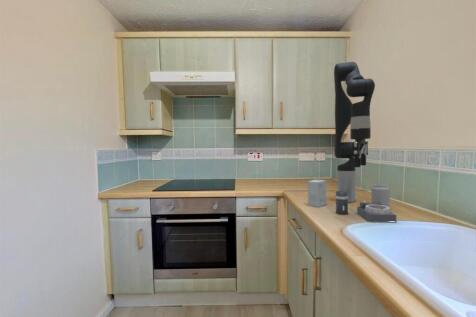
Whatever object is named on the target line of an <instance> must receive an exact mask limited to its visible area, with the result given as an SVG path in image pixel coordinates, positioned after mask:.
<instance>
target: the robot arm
mask: <svg viewBox="0 0 476 317" xmlns="http://www.w3.org/2000/svg"><path fill="white" fill-rule="evenodd" d="M333 78H334V93H335V94H334V95H335V96H334V98H335V99H334V103H335V104H334V126H335V127H334V128H335V129H334V130H335V135H334V156H335V158H336V159H348V160H347V161H346V162H344V163H341V164H339V165H337V168H336V169H337V191H347V192H348V203H355V202H356V197H357V196H356V194H357V192H356V168H361V166H366V165H367V156H368V155H369V142H368V141H366V140H370V139H371V138H372V137H371V132H372V131H371V129H372V128H371V127H372V126H371V123H372V122H371V115H370V114H371V104H372V98H373V95H374V91H375V87H376V84H375V81H374V80H373V78H365V77H364V76H362V74H361V72H360V69H359V66H358V64H357V62H355V61H348V62H339V63H336V64H335V65H334V69H333ZM342 82H344V83H345V85H346V88H345V91H346V92H345V91H344V88H343V86H342ZM359 97H360V98H363V100H362V101H357V102H354V103H353V102H352V100H351V99H350V98H359ZM349 126H350V128H349V130H350V131H349V132H350V137H349V138H350V140H355V141H342V138H343V135H344V134H345V131H346V130H347V129H348V127H349Z"/></svg>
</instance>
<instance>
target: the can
mask: <svg viewBox="0 0 476 317" xmlns="http://www.w3.org/2000/svg"><path fill="white" fill-rule="evenodd" d="M390 191H391V189H390V187H389V185H388V184H381V183H379V184H378V183H373V184H372V187H371V202H379V203H381V204H382V205H384V206H388V207H390V204H391V202H390V200H391V199H390V198H391V196H390V194H391V192H390ZM390 208H391V207H390Z"/></svg>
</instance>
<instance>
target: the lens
mask: <svg viewBox="0 0 476 317" xmlns="http://www.w3.org/2000/svg"><path fill="white" fill-rule="evenodd" d="M348 203H349V202H348V192H347V191H338V190H335V213H336V214H337V215H342V216H346V215H348V214H349V208H348V207H349V206H348V205H349V204H348Z"/></svg>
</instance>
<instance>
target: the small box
mask: <svg viewBox="0 0 476 317" xmlns="http://www.w3.org/2000/svg"><path fill="white" fill-rule="evenodd" d="M307 192H308V193H307V197H308V200H307V202H308V204H307V205H308V206H309V207H315V208H320V207H323V206H325V205H327V180H324V179H313V180H309V181H307Z"/></svg>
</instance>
